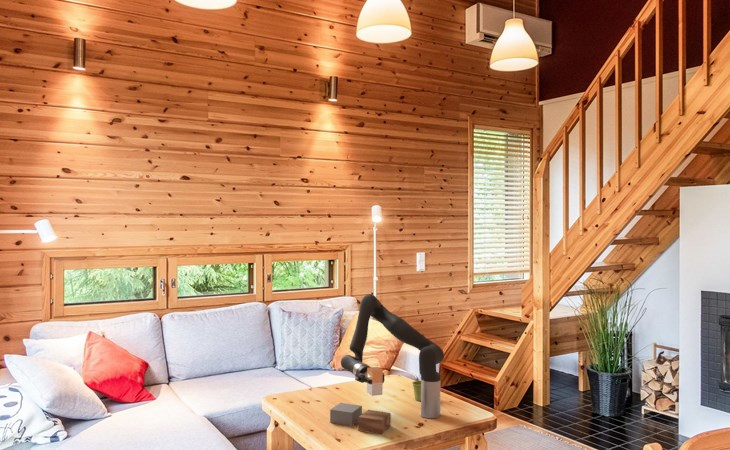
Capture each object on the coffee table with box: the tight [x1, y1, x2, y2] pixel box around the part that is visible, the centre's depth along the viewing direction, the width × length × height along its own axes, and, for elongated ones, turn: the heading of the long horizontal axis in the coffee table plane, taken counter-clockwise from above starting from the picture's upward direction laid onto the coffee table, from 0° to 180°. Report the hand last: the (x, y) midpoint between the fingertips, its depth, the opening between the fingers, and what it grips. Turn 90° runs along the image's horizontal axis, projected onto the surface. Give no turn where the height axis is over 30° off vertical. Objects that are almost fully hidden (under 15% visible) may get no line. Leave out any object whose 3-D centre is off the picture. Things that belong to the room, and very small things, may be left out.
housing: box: [366, 366, 384, 397], centre depth 265 cm, size 5×6×11 cm
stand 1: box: [329, 402, 363, 427], centre depth 276 cm, size 11×11×6 cm
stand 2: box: [357, 409, 392, 435], centre depth 265 cm, size 11×11×6 cm
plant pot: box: [411, 380, 421, 402], centre depth 308 cm, size 9×9×9 cm
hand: (377, 381), depth 263 cm, fingers closed on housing, 5 cm apart
